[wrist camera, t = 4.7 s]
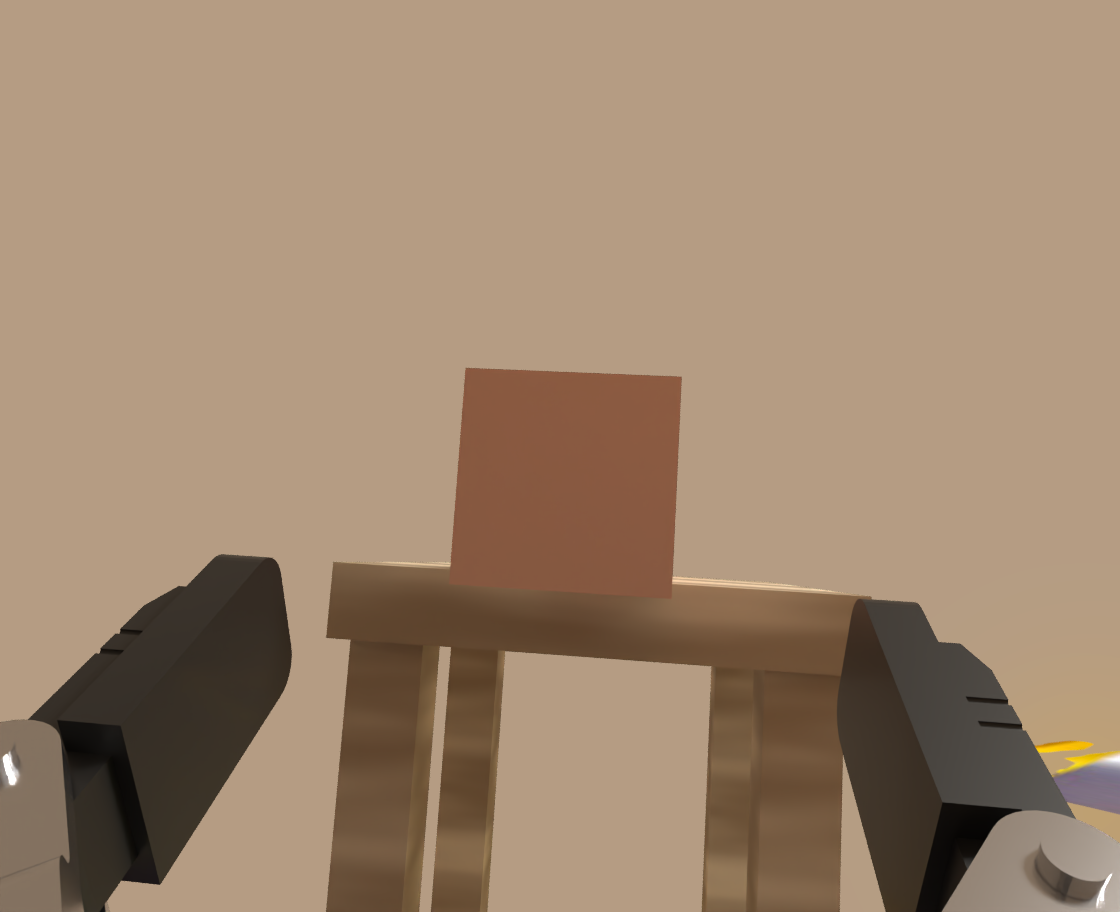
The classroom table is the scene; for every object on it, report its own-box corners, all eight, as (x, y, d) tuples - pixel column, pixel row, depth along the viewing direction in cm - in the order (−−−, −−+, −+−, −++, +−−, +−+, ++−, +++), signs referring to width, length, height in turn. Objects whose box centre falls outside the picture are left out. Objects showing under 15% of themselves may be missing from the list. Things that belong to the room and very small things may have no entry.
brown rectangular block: (671, 598, 12) (681, 377, 12) (449, 584, 12) (465, 367, 13) (648, 574, 38) (651, 502, 38) (576, 570, 38) (580, 499, 38)
